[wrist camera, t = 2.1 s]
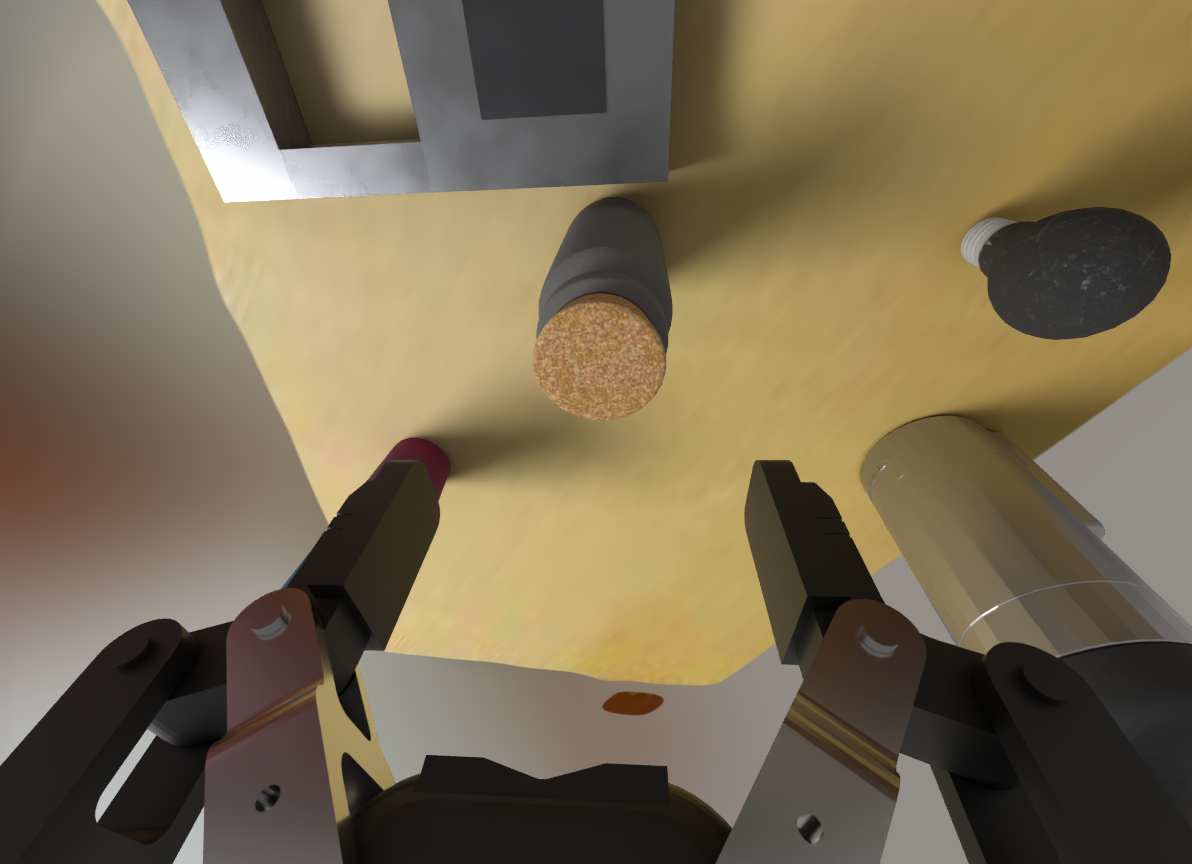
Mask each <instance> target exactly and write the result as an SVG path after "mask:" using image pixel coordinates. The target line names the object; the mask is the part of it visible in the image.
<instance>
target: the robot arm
mask: <svg viewBox="0 0 1192 864" xmlns="http://www.w3.org/2000/svg"><path fill="white" fill-rule="evenodd" d="M860 474H861V482H862V485H863V487H864V489H865V491H866V493H867V494H868V496H869V498H870V500H871V501H872V503H873V505H874V506H875V508H876V510H877V511H878V513H879V515H880V517H881V518H882V520H883V522H884V524H885V526H886V527H887V529H888V531H889V532H890V534H891V536H892V537H893V539H894V541H895V543H896V544H897V546H898V548H899V549H900V551H901V553H902V554H903V556H904V558H905V560H906V561H907V563H908V565H909V566H910V568H911V570H912V571H913V573H914V575H915V577H916V578H917V580H918V582H919V583H920V585H921V587H922V588H923V590H924V592H925V593H926V595H927V597H928V598H929V600H930V602H931V604H932V606H933V607H934V609H935V611H936V612H937V614H938V616H939V617H940V619H941V621H942V622H943V624H944V626H945V628H946V629H947V631H948V633H949V634H950V636H951V638H952V639H953V641H954V643H955V645H956V646H955V645H951V644H948V643H945V642H942V641H938V640H935V639H933V638H930V637H927V636H925V635H923V634H921V633H919V631H918V630H917V628H916V627H915V626H914V625H913V624H912V623H911V621H910V620H909V619H907V618H906V617H905V616H904V615H903V614H901V613H900V612H898V611H897V610H895V609H894V608H892V607H890V606H888V605H886V604H885V603H884V601H883V599H882V597H881V596H880V594H879V591H878V589H877V587H876V585H875V583H874V582H873V580H872V577H871V575H870V573H869V571H868V569H867V567H866V565H865V563H864V561H863V559H862V557H861V555H860V553H859V551H858V549H857V547H856V545H855V543H854V541H853V539H852V538H850V536H849V534H850V533H849V531H848V529H847V527H846V525H845V523H844V522H842V517H841V515H840V513H839V511H838V509H837V507H836V505H835V503H834V501H833V499H832V498H831V497H830V496H829V495H828V494H827V493H825V492H824V491H823V490H822V489H821V488H820V487H819V486H818V485H817V484H816V483H815V482H801V481H800V479H799V477H798V475H797V472H796V470H795V468H794V466H793V464H792V462H791V461H790V460H756V461H755V463H754V465H753V469H752V474H751V479H750V484H749V489H748V494H747V499H746V504H745V528H746V533H747V537H748V540H749V544H750V548H751V552H752V555H753V559H754V563H755V567H756V570H757V574H758V578H759V582H760V585H761V589H762V593H763V597H764V600H765V604H766V608H767V612H768V615H769V619H770V623H771V627H772V630H773V634H774V638H775V642H776V645H777V649H778V653H779V657H780V660H781V664H789V665H790V664H791V665H799V667H800V670H801V673H802V677H803V683H802V684H801V687H800V689H799V691H798V693H797V695H796V697H795V699H794V701H793V703H792V705H791V707H790V709H789V711H788V713H787V715H786V717H785V719H784V721H783V723H782V725H781V728H780V730H779V732H778V734H777V736H776V738H775V740H774V742H773V744H772V746H771V749H770V751H769V753H768V755H767V757H766V759H765V761H764V763H763V766H762V768H761V769H760V772H759V774H758V776H757V778H756V780H755V782H754V784H753V786H752V788H751V790H750V793H749V795H748V797H747V799H746V801H745V803H744V805H743V807H742V809H741V812H740V814H739V816H738V818H737V820H736V822H735V824H734V826H733V828H731V827H730V826H729V824H728V823H727V822H726V821H725V820H724V819H723V818H722V817H721V816H720V815H719V814H718V813H717V812H716V811H714V809H713V808H711V807H710V806H709V805H708V804H706V803H705V802H703V801H702V800H701V799H699V798H698V797H697V796H695V795H693V794H692V793H690V792H688V791H686V790H684V789H682V788H680V787H678V786H675V785H673V784H670V783H668V773H667V766H651V765H629V764H608V763H606V764H602V765H598V766H595V767H591V768H587V769H583V770H579V771H576V772H572V773H568V774H564V775H561V776H557V777H553V778H549V779H537V778H534V777H531V776H529V775H526V774H524V773H521V772H519V771H516V770H514V769H511V768H509V767H506V766H503V765H501V764H498V763H496V762H493V761H491V760H488V759H486V758H479V757H457V756H438V755H426V758H425V761H424V764H423V768H422V771H421V773H420V774H417V775H414V776H412V777H409V778H407V779H404V780H402V781H400V782H398V783H395V780H394V777H393V775H392V772H391V769H390V767H389V765H388V763H387V761H386V759H385V757H384V755H383V752H382V750H381V747H380V744H379V740H378V736H377V733H376V729H375V725H374V721H373V717H372V713H371V709H370V705H369V701H368V697H367V693H366V689H365V685H364V681H363V677H362V673H361V670H360V667H359V666H358V662H359V660H360V658H361V656H362V654H363V652H364V650H377V651H379V650H380V651H384V650H385V648H386V646H387V643H388V641H389V639H390V636H391V634H392V632H393V630H394V627H395V625H396V623H397V620H398V618H399V616H400V613H401V611H402V609H403V607H404V604H405V602H406V600H407V597H408V595H409V593H410V590H411V588H412V586H413V583H414V581H415V579H416V577H417V574H418V572H419V570H420V567H421V565H422V563H423V560H424V558H425V556H426V554H427V551H428V549H429V547H430V544H431V542H432V540H433V537H434V535H435V533H436V531H437V528H438V525H439V519H440V507H439V503H438V500H437V497H436V495H435V492H434V489H433V486H432V483H431V481H430V478H429V475H428V472H427V470H426V467H425V465H424V463H423V462H422V461H420V460H390V461H388V462H386V463H385V465H384V466H383V468H382V469H381V471H380V472H379V474H378V475H377V477H376V478H375V480H374V481H367V482H366V483H364V484H363V485H362V486H361V487H359V488H358V489H357V490H356V491H354V492H353V493H352V494H351V495H350V496H349V497H348V498H347V499H346V501H345V502H344V504H343V505H342V507H341V508H340V510H339V511H338V513H337V517H334V518H333V520H332V521H331V523H330V524H329V526H328V527H327V531H325V532H324V533H323V534H322V536H321V537H320V539H319V540H318V542H317V543H316V545H315V546H314V548H313V549H312V550H311V552H310V553H309V555H308V556H307V558H306V559H305V561H304V562H303V564H302V565H301V566H300V568H299V569H298V571H297V572H296V574H295V575H294V577H293V578H292V580H291V581H290V582H289V584H288V585H287V587H286V588H285V589H279V590H276V591H273V592H270V593H268V594H266V595H264V596H262V597H260V598H258V599H257V600H255V601H254V602H252V603H251V604H250V605H248V606H247V607H246V608H245V609H244V610H243V611H242V612H241V613H240V614H239V615H238V616H237V617H236V619H235V620H234V621H231V622H227V623H224V624H220V625H216V626H213V627H209V628H205V629H201V630H197V631H193V632H190V633H189V632H188V631H187V630H186V629H185V628H184V627H182V626H181V625H180V624H179V623H178V622H176V621H175V620H172V619H157V620H153V621H149V622H146V623H144V624H141V625H139V626H137V627H134V628H133V629H131V630H129V631H127V632H125V633H124V634H122V635H121V636H119V637H118V638H116V639H115V640H114V641H113V642H111V643H110V644H109V645H108V646H107V647H105V648H104V649H103V650H102V651H101V652H100V653H99V655H97V657H96V658H95V659H94V660H93V661H92V662H91V663H90V664H89V666H88V667H87V668H86V669H85V670H84V671H83V672H82V674H81V675H80V676H79V677H78V678H77V679H76V680H75V682H74V683H73V684H72V685H71V686H70V687H69V688H68V690H67V691H66V692H65V693H64V694H63V695H62V696H61V697H60V699H59V700H58V701H57V702H56V703H55V704H54V705H53V707H52V708H51V709H50V710H49V711H48V712H47V713H46V715H45V716H44V717H43V718H42V719H41V720H40V721H39V722H38V724H37V725H36V726H35V727H34V728H33V730H32V731H31V732H30V733H29V734H28V735H27V736H26V737H25V738H24V740H23V741H22V742H21V743H20V744H19V745H18V746H17V748H16V749H15V750H14V751H13V752H12V753H11V754H10V755H9V757H8V758H7V759H6V760H5V761H4V762H3V764H2V765H1V766H0V864H173V862H174V860H175V858H176V856H177V854H178V852H179V851H180V849H181V847H182V845H183V843H184V842H185V840H186V838H187V836H188V834H189V832H190V831H191V829H192V827H193V825H194V823H195V821H196V819H197V818H198V816H199V814H200V812H201V810H202V808H203V807H204V846H203V847H204V849H203V864H880V860H881V857H882V853H883V849H884V846H885V842H886V838H887V835H888V831H889V827H890V823H891V820H892V816H893V813H894V809H895V805H896V802H897V797H898V793H899V788H900V775H899V774H898V773H897V772H896V765H897V760H898V756H899V753H902V754H904V755H907V756H909V757H912V758H915V759H917V760H920V761H923V762H925V763H928V764H930V766H931V769H932V771H933V774H934V776H935V779H936V781H937V784H938V786H939V789H940V791H941V794H942V797H943V799H944V802H945V804H946V806H947V809H948V812H949V814H950V817H951V819H952V822H953V824H954V827H955V830H956V832H957V835H958V837H959V840H960V842H961V845H962V847H963V850H964V852H965V855H966V858H967V860H968V863H969V864H1192V626H1191V625H1190V624H1188V622H1186V621H1185V620H1184V619H1183V618H1182V617H1181V616H1180V615H1179V614H1178V613H1177V612H1176V611H1175V610H1174V609H1173V608H1172V607H1171V606H1170V605H1169V604H1168V603H1167V602H1166V601H1164V599H1162V598H1161V597H1160V596H1159V595H1158V594H1156V592H1155V591H1154V590H1153V589H1151V587H1149V586H1148V585H1147V584H1146V583H1145V582H1144V581H1143V580H1142V579H1141V578H1140V577H1139V576H1138V575H1137V574H1136V573H1135V572H1134V571H1133V570H1132V569H1131V568H1129V566H1128V565H1127V564H1125V563H1124V562H1123V561H1122V560H1121V559H1120V558H1119V557H1118V556H1117V555H1116V554H1115V553H1114V552H1113V551H1112V550H1111V549H1110V548H1109V547H1108V546H1107V545H1106V544H1104V543H1103V542H1102V541H1101V539H1102V538H1103V536H1104V535H1105V529H1104V526H1103V525H1102V524H1101V523H1100V522H1099V521H1098V520H1097V519H1096V518H1095V517H1094V516H1093V515H1092V514H1090V513H1089V512H1088V511H1087V510H1086V509H1085V508H1084V507H1083V506H1082V505H1081V504H1079V503H1078V502H1077V501H1076V500H1075V499H1074V498H1073V497H1072V496H1071V495H1070V494H1069V493H1068V492H1067V491H1065V490H1064V489H1063V488H1062V487H1061V486H1060V485H1059V484H1058V483H1057V482H1056V481H1054V480H1053V479H1052V478H1051V477H1050V476H1049V475H1048V474H1047V473H1046V472H1045V471H1044V470H1043V469H1041V468H1040V467H1039V466H1038V465H1037V464H1036V463H1035V462H1034V461H1033V460H1032V459H1031V458H1030V457H1028V456H1027V455H1026V454H1025V453H1024V452H1023V451H1022V450H1021V449H1020V448H1019V447H1018V446H1017V445H1015V444H1014V443H1013V442H1012V441H1011V440H1010V439H1009V438H1008V437H1007V436H1006V435H1005V434H1003V433H1002V432H991V431H987V430H986V429H985V428H983V427H982V426H981V425H980V424H978V423H977V422H975V421H972V420H970V419H968V418H963V417H958V416H936V417H930V418H924V419H921V420H918V421H914V422H911V423H909V424H907V425H904V426H902V427H900V428H898V429H896V430H895V431H893V432H891V433H890V434H888V435H887V436H885V437H884V438H883V439H882V440H880V441H879V442H878V443H877V444H876V445H875V446H874V447H873V448H872V449H871V451H870V452H869V453H868V454H867V456H866V458H865V460H864V462H863V464H862V468H861V472H860ZM146 729H148V730H149V731H151V732H153V733H154V734H156V737H155V738H154V740H153V741H152V743H151V744H150V746H149V747H148V749H147V750H146V752H145V753H144V755H143V756H142V758H141V759H140V761H139V762H138V763H137V765H136V766H135V768H134V769H133V771H132V772H131V774H130V775H129V777H128V778H127V780H126V781H125V783H124V784H123V786H122V787H121V788H120V790H119V791H118V793H117V794H116V796H115V797H114V799H113V800H112V802H111V803H110V805H109V806H108V808H107V809H106V811H105V812H104V814H103V815H102V816H101V818H100V820H99V821H98V823H97V822H96V819H95V810H96V806H97V803H98V801H99V798H100V796H101V794H102V793H103V791H104V790H105V788H106V787H107V785H108V784H109V782H110V781H111V780H112V778H113V777H114V775H115V774H116V772H117V771H118V769H119V768H120V767H121V765H122V764H123V762H124V761H125V759H126V758H127V757H128V755H129V754H130V752H131V751H132V749H133V748H134V746H135V745H136V744H137V742H138V741H139V740H140V738H141V737H142V735H143V734H144V732H145V731H146Z"/></svg>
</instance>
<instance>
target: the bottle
mask: <svg viewBox="0 0 1192 864" xmlns="http://www.w3.org/2000/svg"><path fill="white" fill-rule="evenodd" d="M671 321H672V298H671V291H670V286H669V280H668V275H667V270H666V265H665V259H664V255H663V250H662V245H661V240H660V237H659V233H658V230H657V228H656V225H655V224H654V222H653V220H652V219H651V217H650V216H649V215H648V214H647V212H646V211H645V210H643V209H642V208H641V207H639V206H638V205H637V204H635V203H633V202H630V201H627V200H624V199H618V198H607V199H602V200H599V201H597V202H594V203H592V204H590V205H589V206H587V207H586V208H584V209H583V210H582V211H581V212H580V213H579V214H578V215H577V216H576V218H575V219H574V220H573V222H572V224H571V225H570V227H569V229H568V231H567V233H566V236H565V238H564V240H563V242H562V244H561V246H560V248H559V251H558V253H557V255H556V257H555V259H554V262H553V264H552V266H551V268H550V271H549V273H548V275H547V277H546V280H545V282H544V285H543V288H542V291H541V295H540V300H539V321H538V326H537V336H536V337H537V341H536V344H535V348H534V355H533V363H534V371H535V374H536V377H537V380H538V382H539V384H540V386H541V388H542V389H543V391H544V392H545V394H546V395H547V396H548V397H549V398H550V399H551V400H552V401H553V402H554V403H555V404H556V405H557V406H559V407H560V408H562V409H563V410H565V411H567V412H569V413H571V414H573V415H575V416H578V417H582V418H585V419H590V420H612V419H618V418H622V417H625V416H627V415H630V414H632V413H634V412H636V411H638V410H639V409H641V408H642V407H643V406H645V405H646V404H647V403H648V402H649V401H650V400H651V399H652V398H653V397H654V396H655V394H656V393H657V391H658V390H659V388H660V386H661V384H662V381H663V378H664V375H665V370H666V352H667V348H668V333H669V329H670V326H671Z"/></svg>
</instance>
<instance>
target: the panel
mask: <svg viewBox="0 0 1192 864" xmlns="http://www.w3.org/2000/svg"><path fill="white" fill-rule="evenodd" d="M127 1H128V3H129V5H130V7H131V9H132V11H133V13H134V15H135V17H136V19H137V21H138V24H139V26H140V28H141V30H142V32H143V34H144V36H145V38H146V40H147V42H148V44H149V46H150V48H151V51H152V53H153V55H154V57H155V59H156V61H157V63H158V65H159V67H160V69H161V71H162V73H163V75H164V77H165V80H166V82H167V84H168V86H169V88H170V90H171V92H172V94H173V96H174V98H175V100H176V102H177V104H178V107H179V109H180V111H181V113H182V115H183V117H184V119H185V121H186V123H187V125H188V127H189V129H190V131H191V134H192V136H193V138H194V140H195V142H196V144H197V146H198V148H199V150H200V152H201V154H202V156H203V158H204V161H205V163H206V165H207V167H208V169H209V171H210V173H211V175H212V177H213V179H214V181H215V183H216V185H217V188H218V190H219V192H220V194H221V196H222V198H223V200H224V202H239V201H261V200H282V199H303V198H325V197H346V196H367V195H389V194H410V193H431V192H453V191H474V190H495V189H517V188H538V187H560V186H581V185H602V184H624V183H645V182H666V181H668V171H669V144H670V118H671V91H672V65H673V38H674V12H675V0H388V3H389V7H390V12H391V16H392V20H393V24H394V29H395V33H396V37H397V42H398V46H399V50H400V54H401V59H402V63H403V67H404V71H405V76H406V80H407V84H408V88H409V93H410V97H411V101H412V105H413V110H414V114H415V118H416V123H417V127H418V131H419V135H420V138H418V139H400V140H382V141H365V142H347V143H329V144H311V141H310V138H309V135H308V133H307V130H306V127H305V124H304V121H303V118H302V116H301V113H300V110H299V107H298V104H297V102H296V99H295V96H294V93H293V90H292V88H291V85H290V82H289V79H288V76H287V73H286V71H285V68H284V65H283V62H282V59H281V57H280V54H279V51H278V48H277V45H276V42H275V40H274V37H273V34H272V31H271V28H270V26H269V23H268V20H267V17H266V14H265V12H264V9H263V6H262V3H261V0H127Z"/></svg>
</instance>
